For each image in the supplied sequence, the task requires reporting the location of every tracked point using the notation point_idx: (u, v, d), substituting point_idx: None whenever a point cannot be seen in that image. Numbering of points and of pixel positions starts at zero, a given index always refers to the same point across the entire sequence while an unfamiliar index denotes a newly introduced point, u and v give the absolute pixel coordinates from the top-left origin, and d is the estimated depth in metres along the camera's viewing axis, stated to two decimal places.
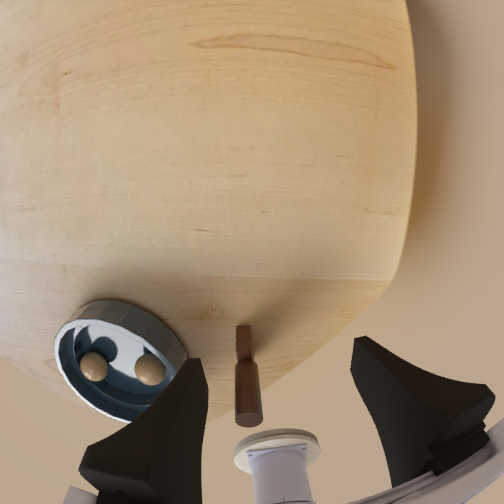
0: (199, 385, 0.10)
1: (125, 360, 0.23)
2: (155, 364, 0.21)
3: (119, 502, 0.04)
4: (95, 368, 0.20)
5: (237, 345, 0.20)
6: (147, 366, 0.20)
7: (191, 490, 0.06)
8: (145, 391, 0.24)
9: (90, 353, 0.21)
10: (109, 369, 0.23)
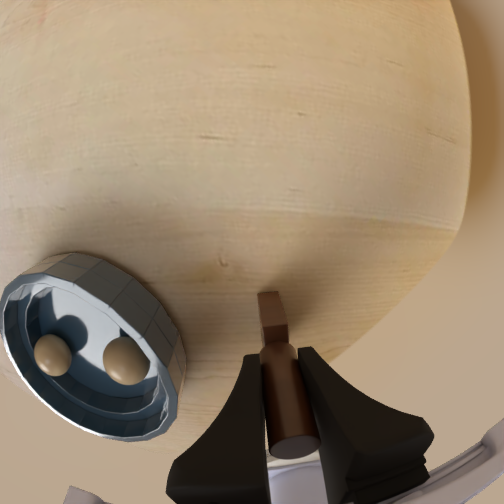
0: None
1: (94, 347, 0.15)
2: (132, 352, 0.13)
3: None
4: (51, 356, 0.13)
5: (263, 318, 0.13)
6: (119, 355, 0.13)
7: (269, 489, 0.06)
8: (124, 394, 0.17)
9: (47, 335, 0.14)
10: (75, 360, 0.16)
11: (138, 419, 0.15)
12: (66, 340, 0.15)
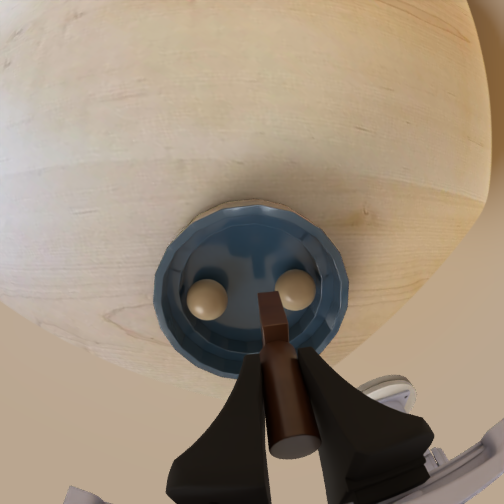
0: None
1: (250, 288, 0.21)
2: (309, 277, 0.19)
3: None
4: (217, 296, 0.18)
5: (263, 317, 0.13)
6: (302, 279, 0.18)
7: (269, 489, 0.06)
8: None
9: (205, 279, 0.19)
10: None
11: None
12: None
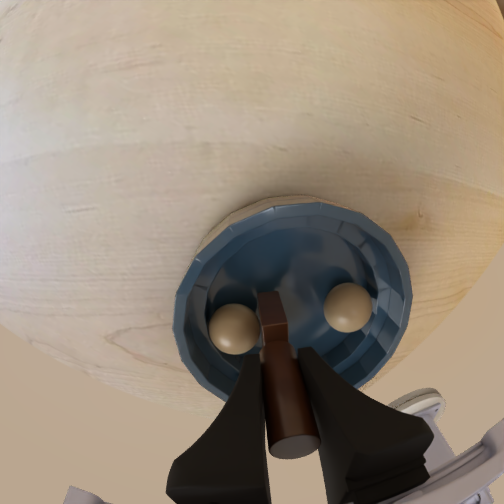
0: None
1: (291, 306, 0.17)
2: (366, 293, 0.15)
3: None
4: (247, 334, 0.14)
5: (263, 317, 0.13)
6: (360, 296, 0.14)
7: (269, 489, 0.06)
8: None
9: (237, 305, 0.15)
10: None
11: None
12: (250, 303, 0.17)
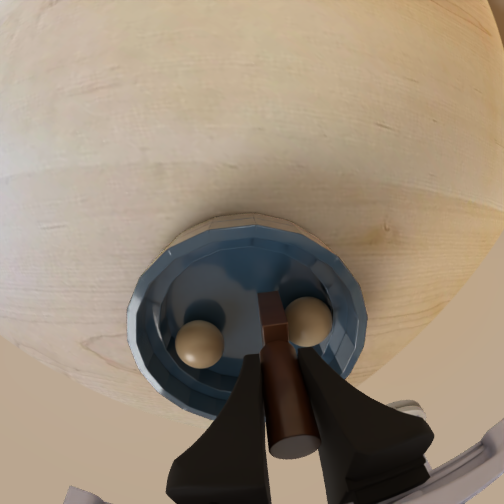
0: None
1: (245, 321, 0.17)
2: (325, 305, 0.15)
3: None
4: (217, 348, 0.15)
5: (263, 317, 0.13)
6: (319, 308, 0.14)
7: (269, 489, 0.06)
8: None
9: (200, 323, 0.15)
10: None
11: None
12: (206, 317, 0.17)
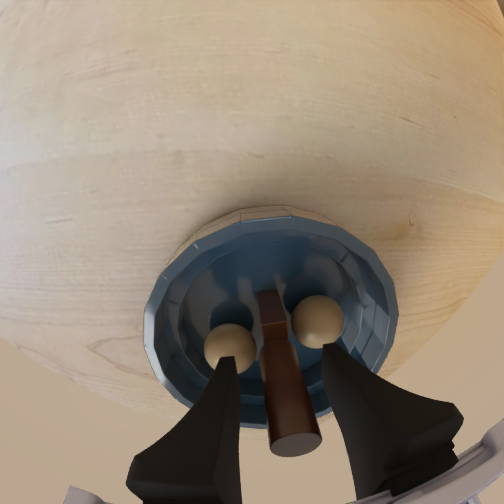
0: (235, 383, 0.10)
1: None
2: (334, 309, 0.13)
3: None
4: (255, 351, 0.14)
5: (262, 316, 0.13)
6: (321, 309, 0.13)
7: (236, 491, 0.06)
8: None
9: (236, 326, 0.15)
10: None
11: None
12: (227, 317, 0.16)
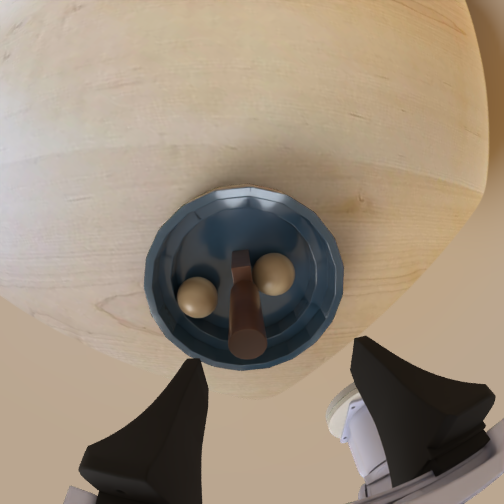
0: (199, 385, 0.10)
1: None
2: (281, 263, 0.18)
3: (119, 502, 0.04)
4: (206, 304, 0.18)
5: (233, 263, 0.17)
6: (270, 261, 0.18)
7: (191, 490, 0.06)
8: None
9: (201, 280, 0.19)
10: None
11: (276, 344, 0.21)
12: (209, 272, 0.20)
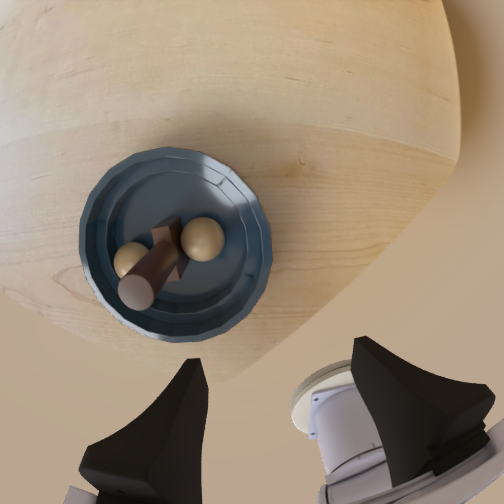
0: (199, 385, 0.10)
1: None
2: (206, 225, 0.17)
3: (119, 502, 0.04)
4: None
5: (155, 225, 0.16)
6: (195, 223, 0.17)
7: (191, 490, 0.06)
8: (195, 297, 0.21)
9: (136, 243, 0.18)
10: None
11: (212, 317, 0.20)
12: (145, 241, 0.20)
